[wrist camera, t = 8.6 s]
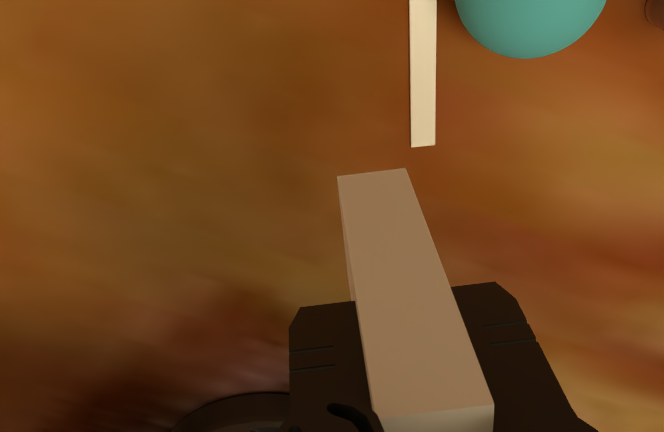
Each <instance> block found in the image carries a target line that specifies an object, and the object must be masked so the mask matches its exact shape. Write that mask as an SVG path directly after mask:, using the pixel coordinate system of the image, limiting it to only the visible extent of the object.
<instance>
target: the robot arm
mask: <svg viewBox="0 0 664 432" xmlns="http://www.w3.org/2000/svg"><path fill="white" fill-rule="evenodd" d="M337 182H338V191H339V201H340V210H341V219H342V228H343V237H344V247H345V256H346V265H347V274H348V281H349V288H350V295H351V301H348V302H340V303H332V304H324V305H315V306H307V307H300V309H299V310H298V312H297V314H296V316H295V318H294V320H293V322H292V323H291V325H290V327H289V353H290V355H289V370H290V374H289V378H290V395H285V394H250V395H243V396H237V397H232V398H228V399H224V400H221V401H217V402H215V403H212V404H209V405H207V406H205V407H202V408H200V409H199V410H197V411H195V412H193V413H192V414H190V415H188V416H187V417H186V418H184V419H183V420H182V421H180V422H179V423H178V424H177V425H176V426H175V427H174V428H173V429H172V430H171V432H598V430H596V429H595V428H593V427H592V426H590V425H589V424H587V423H586V422H584V421H583V420H581V419H580V418H578V417H577V415H576V414H575V412H574V411H573V409H572V408H571V406H570V404H569V402H568V400H567V398H566V396H565V394H564V392H563V390H562V388H561V386H560V384H559V382H558V380H557V378H556V377H555V375H554V373H553V371H552V369H551V367H550V365H549V363H548V361H547V359H546V357H545V355H544V353H543V351H542V349H541V347H540V345H539V343H538V342H536V337H535V335H534V333H533V331H532V330H531V328H530V326H529V324H527V320H526V318H525V316H524V314H523V312H522V310H521V308H520V306H519V304H518V302H517V300H516V298H514V297H513V296H512V295H511V294H509V293H508V292H507V291H506V290H505V289H503V288H502V287H501V286H500V285H498V284H497V283H496V282H488V283H480V284H472V285H464V286H456V287H450V285H449V282H448V280H447V277H446V274H445V272H444V269H443V266H442V264H441V261H440V258H439V256H438V253H437V250H436V248H435V245H434V242H433V240H432V237H431V234H430V232H429V229H428V226H427V224H426V221H425V218H424V216H423V213H422V210H421V208H420V205H419V203H418V200H417V197H416V195H415V192H414V189H413V187H412V184H411V181H410V179H409V176H408V173H407V171H406V168H401V169H393V170H385V171H377V172H368V173H360V174H352V175H344V176H337Z"/></svg>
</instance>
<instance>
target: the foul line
mask: <svg viewBox="0 0 664 432" xmlns="http://www.w3.org/2000/svg"><path fill="white" fill-rule="evenodd" d="M436 7H437V0H409V39H410V122H411V147H419V146H430V145H435V97H436Z"/></svg>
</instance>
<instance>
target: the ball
mask: <svg viewBox="0 0 664 432" xmlns="http://www.w3.org/2000/svg"><path fill="white" fill-rule="evenodd" d="M606 1H607V0H455V4H456V8H457V11H458V14H459V17H460V19H461V21H462V23H463V25H464V26H465V28H466V29H467V31H468V32H469V33H470V34H471V36H472V37H473V38H474V39H475V40H476V41H477V42H479V43H480V44H481V45H483V46H484V47H485V48H487V49H489V50H491V51H493V52H495V53H497V54H500V55H503V56H507V57H511V58H519V59H531V58H538V57H543V56H546V55H550V54H553V53H555V52H558V51H560V50H562V49H564V48H566V47H568V46H569V45H570V44H572V43H573V42H575V41H576V40H578V39H579V38H580V37H581V36H582V35H583V34H584V33H585V32H586V31H587V30H588V29H589V28H590V27H591V26H592V25H593V23H594V22H595V21H596V19H597V18H598V16H599V15H600V13H601V11H602V9H603V7H604V5H605V3H606Z"/></svg>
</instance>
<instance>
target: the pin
mask: <svg viewBox="0 0 664 432" xmlns="http://www.w3.org/2000/svg"><path fill="white" fill-rule="evenodd" d="M645 14H646V18H647V19H648V21H649V22H650V23H651V24H653V25H655V26H657V27H659V28H661V29H663V30H664V0H647V2H646V6H645Z"/></svg>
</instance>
